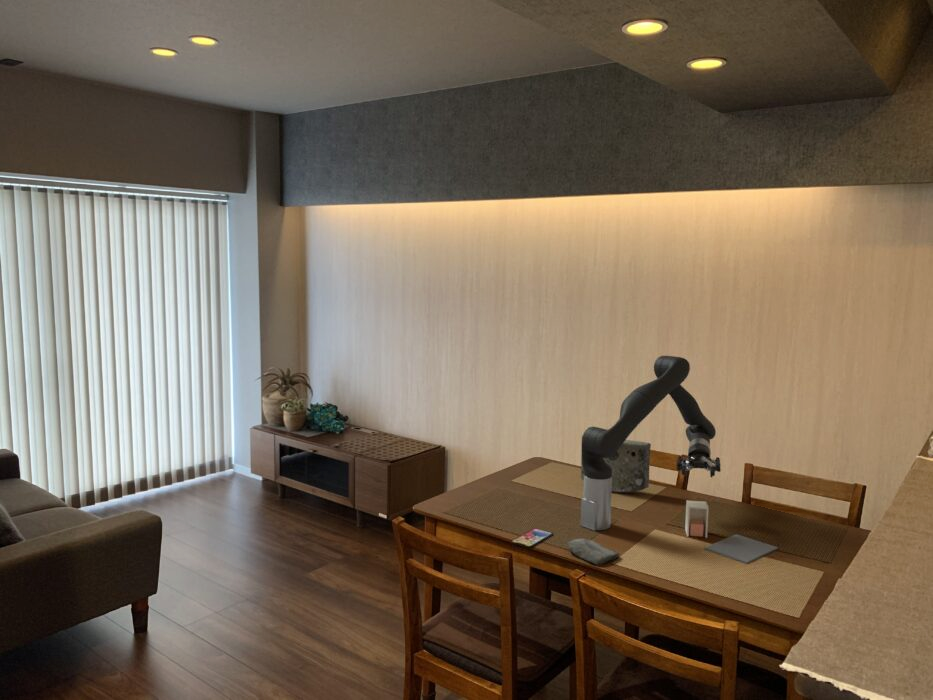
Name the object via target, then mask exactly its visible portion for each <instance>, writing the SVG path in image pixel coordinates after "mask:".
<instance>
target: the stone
mask: <svg viewBox="0 0 933 700" xmlns="http://www.w3.org/2000/svg"><path fill="white" fill-rule="evenodd" d="M566 547H567V549H568V550H569V551H570V552H571V553H572V554H573V555H575V556H577V557H578V558H579V559H580V558H581V559H582V560H585V561H588V562H589V563H592V564H595V565H596V566H597V567H600V566H602V565H604V564H606V563H608V562H609V561H613V560H614V561H615V560H616V559H617V558H618V557H619V556H620V553H619V552H617V551H615V550H614V549H613V550H612V549H609V548H607V547H604V546H603V545H601V543H599V542H596V541H595V540H592V539H588V538H575V539H571V540H569V541H568V542H567V544H566Z"/></svg>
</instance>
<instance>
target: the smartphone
mask: <svg viewBox="0 0 933 700" xmlns="http://www.w3.org/2000/svg"><path fill="white" fill-rule="evenodd" d="M551 535H552V536H553V535H554V532H551V531H547V530H544V529H540V528H532V529H530V530H528V531H527V532H525V533H523V534H521V535H519V536H518V537H516V538H513V539H512V540H511V545H515V546H519V547H521V548H522V547H523V548H525V549H532V548H534V547H536V546H537V545H539V544H541V543H542V542H544V541H546V540H547V539H549V538H550V536H551ZM552 536H551V537H552ZM548 537H549V538H548ZM545 539H546V540H545Z"/></svg>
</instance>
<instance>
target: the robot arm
mask: <svg viewBox="0 0 933 700" xmlns="http://www.w3.org/2000/svg"><path fill="white" fill-rule="evenodd" d="M690 370H691V364H690V362H689V361H688V360H687V359H686V358H684V357H681V356H673V355H661V356H659V357H657V358H656V359H655V361H654V364H653V372H654V375H655V377H656V379H655V380H654V379H653V380H652V381H648V382H647V383H645V384H643V385H640V386H638V387H637V388H635V389H634V390H632V391H631V392H630V394H628V396H626V397H625V398H624V400H623V401H622V403H621V405H620V411H619V417H618V420H617V421H616V423H615V424H614V425H612V426H611V427H610V428H609V429H606V428H601V427H598V426H589V427H587V429H585V431H584V432H583V435H582V436H583V437H582V436H581V449H582V451H581V453H582V467H583V469H584V481H583V494H582V495H583V496H582V497H581V499H580V526H581V527H584V528H586V529H589V530H591V531H595V532H596V531H605V530H608V529H609V528H611V517H612V516H611V514H612V468H611V467H610V466H609V465H608V464H607V463H606V462H605V461H604V459H603V458H609V457H611V456H613V455H614V454H615V453H616V452H617V451H618V449H619V448H620V447H621V445H622V444H623V443H624V441H625V440H628V437H629V436H630V435H631V433H632V432H633V431H634V430H635V429H637V427H638V426H639V425H640V423H642V422H643V420H644V419H645V418H646V417H648V415H649V414H651V413H652V411H653V410H654V409H655V408H656V407H657V406H658V405H659V404H660V403H661V402H662V401H663V400H664V399H665V398H666V397H667V396H668V395H669V397H670V398H671V399H672V401H673V402H674V403H675V405H676V406H677V408H678V412H679V413H680V415H681V417H682V419H683V421H684V423H685V424H686V425H688V426H687V427H686V429H685V436H686V438H687V440H688V441H689V445H688V451H687V452H688V453H687V457H686V458H683V457H682V456H678V457H677V460H676V470H677V471H679V472H680V471H681V475H682V476H683V477H687V471H691V470H693V469H703V470H706V471H707V472H710V473H709V475H710V478H713V477H715V475H716V472H717V473H718V472H719V473H720V472H722V470H721V459H720V457H717V456H716V458H715V459H714V458H713V459H712V458H711V454H712V453H711V440H712V439H714V438H715V437H716V427H715V426H714V424H713V423H712V422H711V420H709V419H708V417H706V416H705V415H704V413H703V412H702V410H701V408H700V405H699V404H698V402H697V400H696V398H695V397H694V396H693V395H692V394H691V393H690V392H689V391H688V390H687V389H685V387H684V386H683V385H681V384H682V383H684V382H685V381H686V379H687V378H688V376H689V373H690Z"/></svg>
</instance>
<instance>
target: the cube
mask: <svg viewBox="0 0 933 700" xmlns="http://www.w3.org/2000/svg"><path fill="white" fill-rule="evenodd" d="M703 529H704V524H703V522H702V521H700V520H689V536H691V537H704V532H703Z"/></svg>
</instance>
